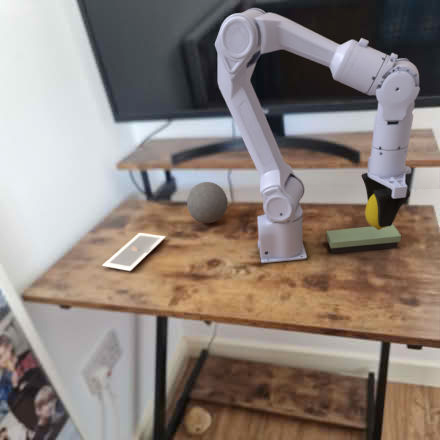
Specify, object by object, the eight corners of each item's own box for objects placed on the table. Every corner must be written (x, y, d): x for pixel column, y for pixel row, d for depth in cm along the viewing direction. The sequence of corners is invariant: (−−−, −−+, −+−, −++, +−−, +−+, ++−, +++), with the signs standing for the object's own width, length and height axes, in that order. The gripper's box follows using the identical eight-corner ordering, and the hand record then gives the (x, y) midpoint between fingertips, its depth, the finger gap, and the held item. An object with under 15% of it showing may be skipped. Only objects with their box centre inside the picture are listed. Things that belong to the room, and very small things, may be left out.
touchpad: (103, 269, 90) (100, 261, 89) (140, 236, 101) (138, 228, 99) (131, 275, 87) (128, 266, 86) (166, 240, 97) (165, 232, 96)
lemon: (396, 236, 74) (403, 196, 69) (364, 236, 75) (369, 196, 71) (392, 222, 78) (398, 183, 74) (362, 222, 80) (366, 184, 75)
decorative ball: (182, 226, 102) (175, 188, 96) (205, 209, 108) (200, 173, 102) (214, 233, 97) (209, 195, 91) (236, 215, 103) (233, 178, 97)
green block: (330, 255, 84) (331, 242, 82) (325, 242, 88) (326, 230, 86) (399, 248, 83) (401, 235, 81) (391, 236, 87) (393, 224, 85)
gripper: (432, 156, 61) (416, 234, 69) (399, 129, 73) (389, 199, 81) (385, 161, 62) (375, 239, 70) (359, 134, 73) (353, 203, 81)
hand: (379, 218), depth 75 cm, fingers closed on lemon, 5 cm apart
